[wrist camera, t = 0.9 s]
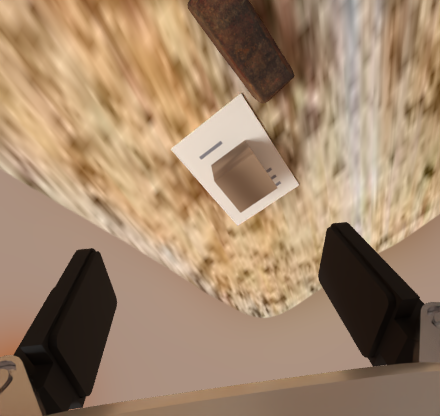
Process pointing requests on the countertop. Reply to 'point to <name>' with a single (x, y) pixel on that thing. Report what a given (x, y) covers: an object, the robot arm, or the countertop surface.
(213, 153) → the letter
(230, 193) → the walnut block
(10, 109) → the countertop surface
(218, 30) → the brick
